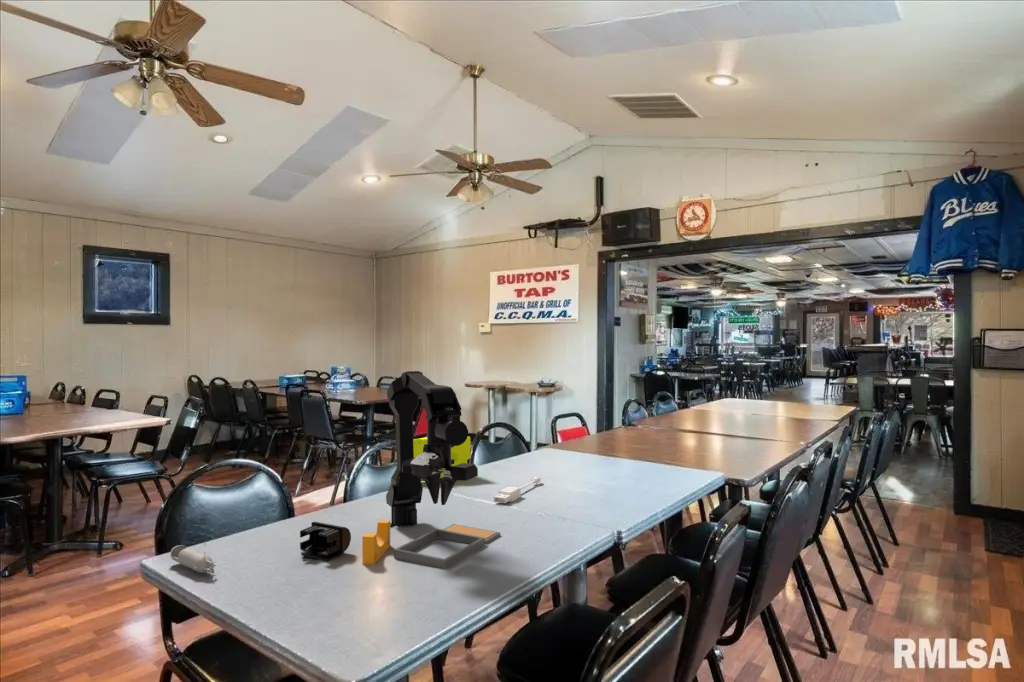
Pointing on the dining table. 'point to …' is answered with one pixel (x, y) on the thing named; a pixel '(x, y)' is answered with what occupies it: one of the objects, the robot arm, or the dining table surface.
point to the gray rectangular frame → (407, 555)
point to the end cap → (325, 541)
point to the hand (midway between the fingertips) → (439, 504)
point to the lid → (474, 532)
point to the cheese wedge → (457, 452)
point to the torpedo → (193, 559)
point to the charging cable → (513, 492)
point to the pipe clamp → (376, 543)
